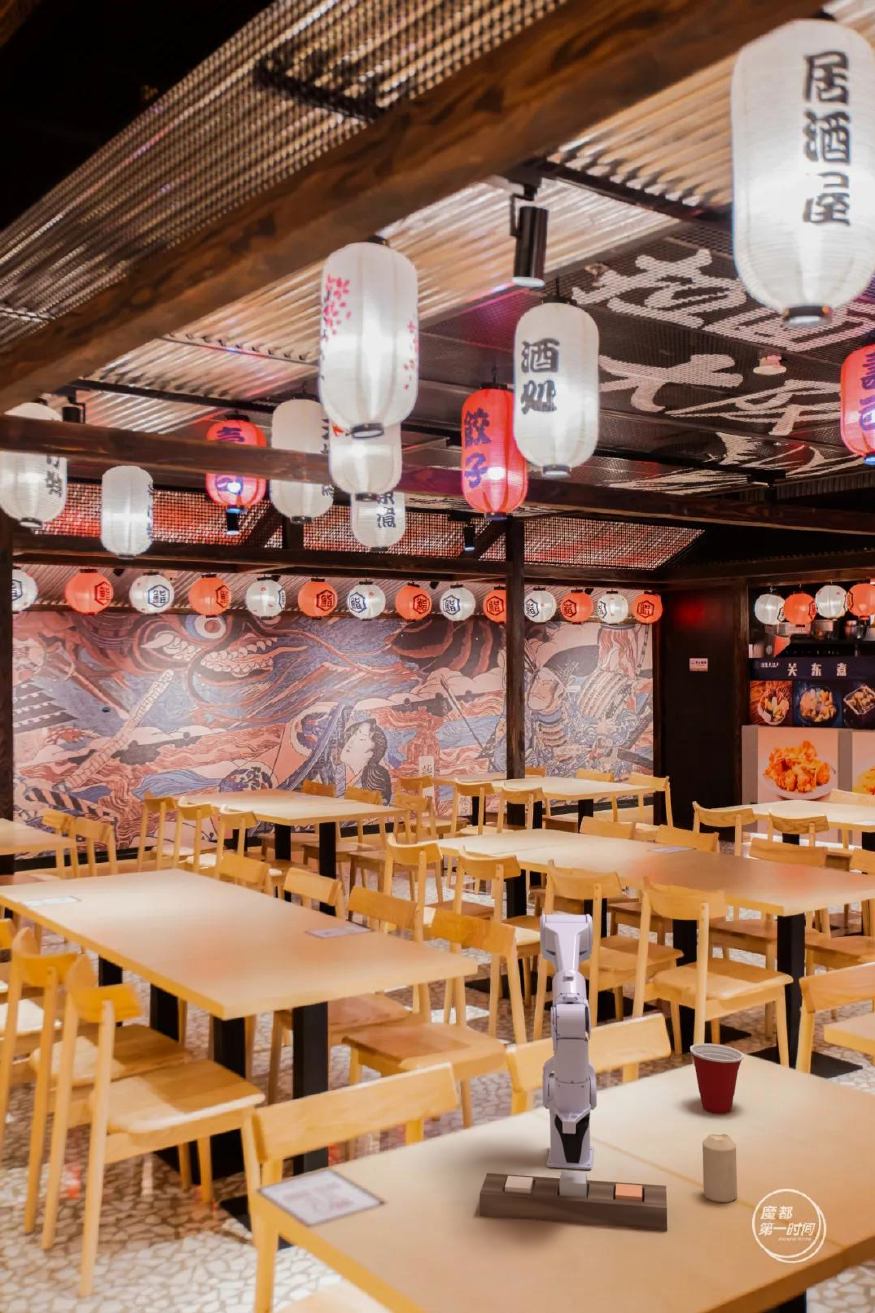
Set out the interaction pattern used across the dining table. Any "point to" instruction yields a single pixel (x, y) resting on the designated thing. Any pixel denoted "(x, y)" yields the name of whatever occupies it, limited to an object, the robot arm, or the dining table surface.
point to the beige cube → (519, 1184)
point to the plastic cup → (716, 1075)
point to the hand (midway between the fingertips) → (573, 1161)
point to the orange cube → (628, 1192)
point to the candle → (719, 1168)
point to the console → (574, 1203)
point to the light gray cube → (573, 1184)
